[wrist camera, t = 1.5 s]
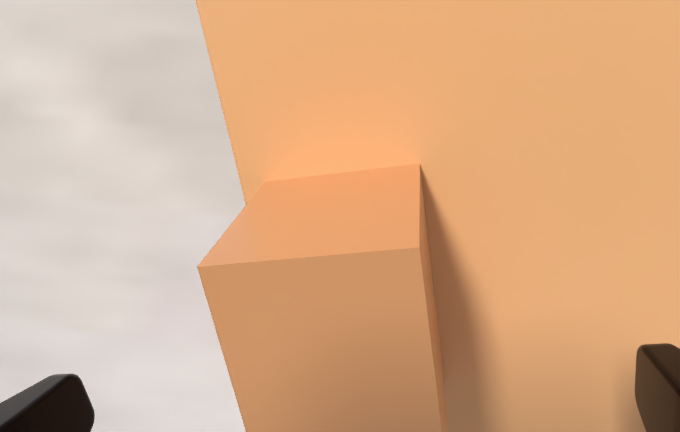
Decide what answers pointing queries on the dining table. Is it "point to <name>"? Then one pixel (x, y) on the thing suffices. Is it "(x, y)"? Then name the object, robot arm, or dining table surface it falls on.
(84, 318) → the dining table surface
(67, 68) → the dining table surface
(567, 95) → the lid
